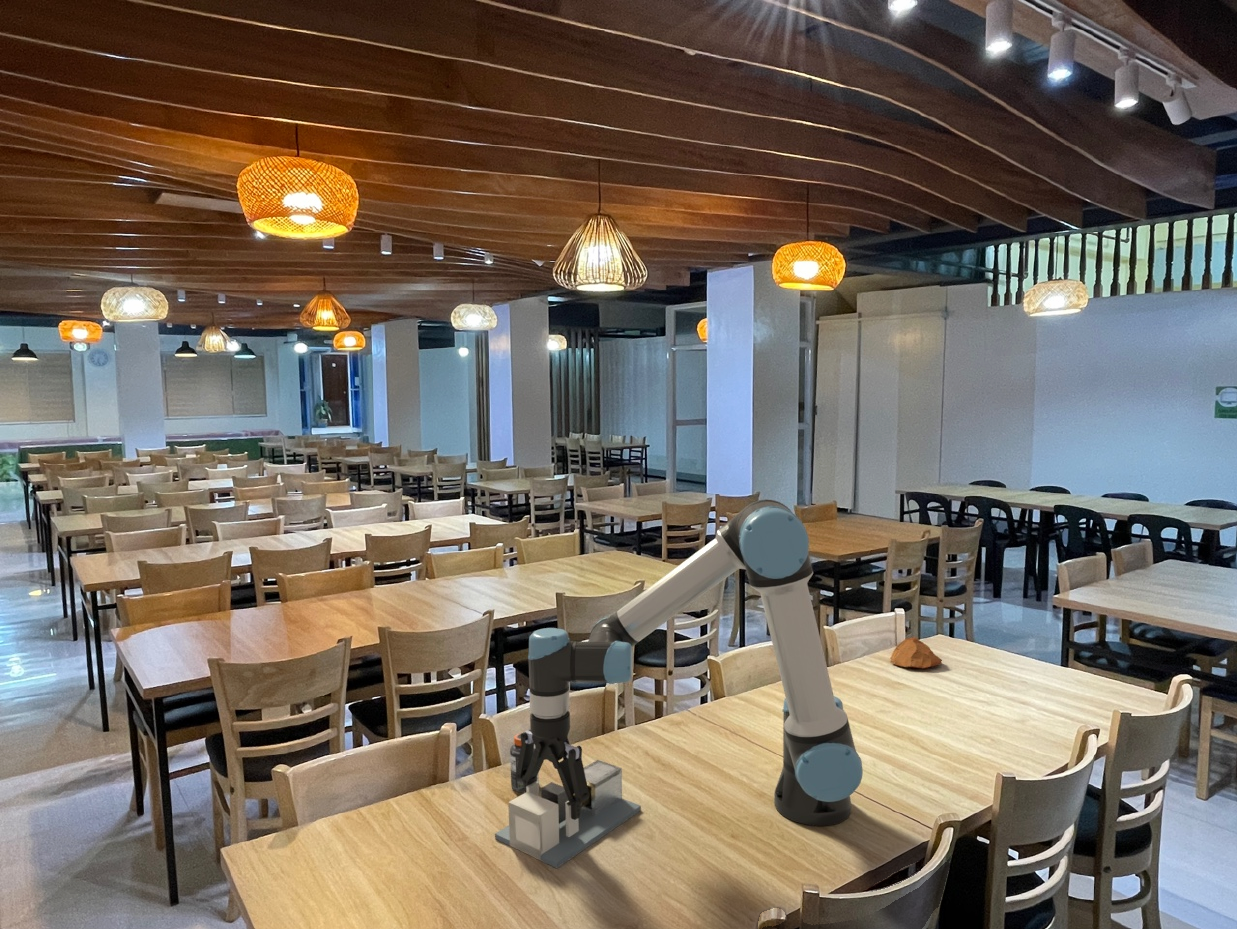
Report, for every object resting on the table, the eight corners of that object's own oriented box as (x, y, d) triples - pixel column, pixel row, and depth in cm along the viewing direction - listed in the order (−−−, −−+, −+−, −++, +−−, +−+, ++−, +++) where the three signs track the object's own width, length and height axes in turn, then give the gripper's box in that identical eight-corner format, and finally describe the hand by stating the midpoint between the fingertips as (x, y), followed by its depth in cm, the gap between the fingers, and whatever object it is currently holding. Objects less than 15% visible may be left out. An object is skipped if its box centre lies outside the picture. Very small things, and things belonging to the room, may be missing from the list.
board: (640, 810, 163) (640, 805, 163) (556, 868, 143) (556, 863, 143) (581, 787, 173) (581, 782, 173) (495, 838, 153) (494, 833, 153)
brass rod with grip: (597, 803, 161) (596, 772, 160) (545, 836, 149) (544, 802, 149) (580, 797, 164) (580, 766, 163) (528, 829, 152) (527, 795, 151)
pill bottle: (543, 782, 175) (542, 732, 174) (531, 795, 170) (530, 743, 169) (518, 778, 177) (517, 728, 176) (506, 791, 172) (504, 739, 171)
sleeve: (622, 798, 166) (621, 768, 165) (595, 815, 159) (595, 784, 158) (598, 789, 170) (597, 759, 169) (571, 805, 163) (570, 775, 162)
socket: (559, 848, 150) (558, 804, 149) (540, 860, 146) (539, 815, 145) (528, 834, 155) (527, 791, 154) (509, 845, 151) (508, 802, 150)
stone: (900, 680, 241) (886, 647, 243) (891, 675, 255) (879, 644, 257) (948, 663, 239) (934, 631, 241) (937, 659, 253) (924, 629, 256)
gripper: (607, 719, 148) (609, 835, 150) (522, 692, 162) (525, 799, 164) (581, 732, 142) (583, 853, 144) (494, 704, 156) (498, 814, 158)
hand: (552, 824), depth 154 cm, fingers open, 9 cm apart
